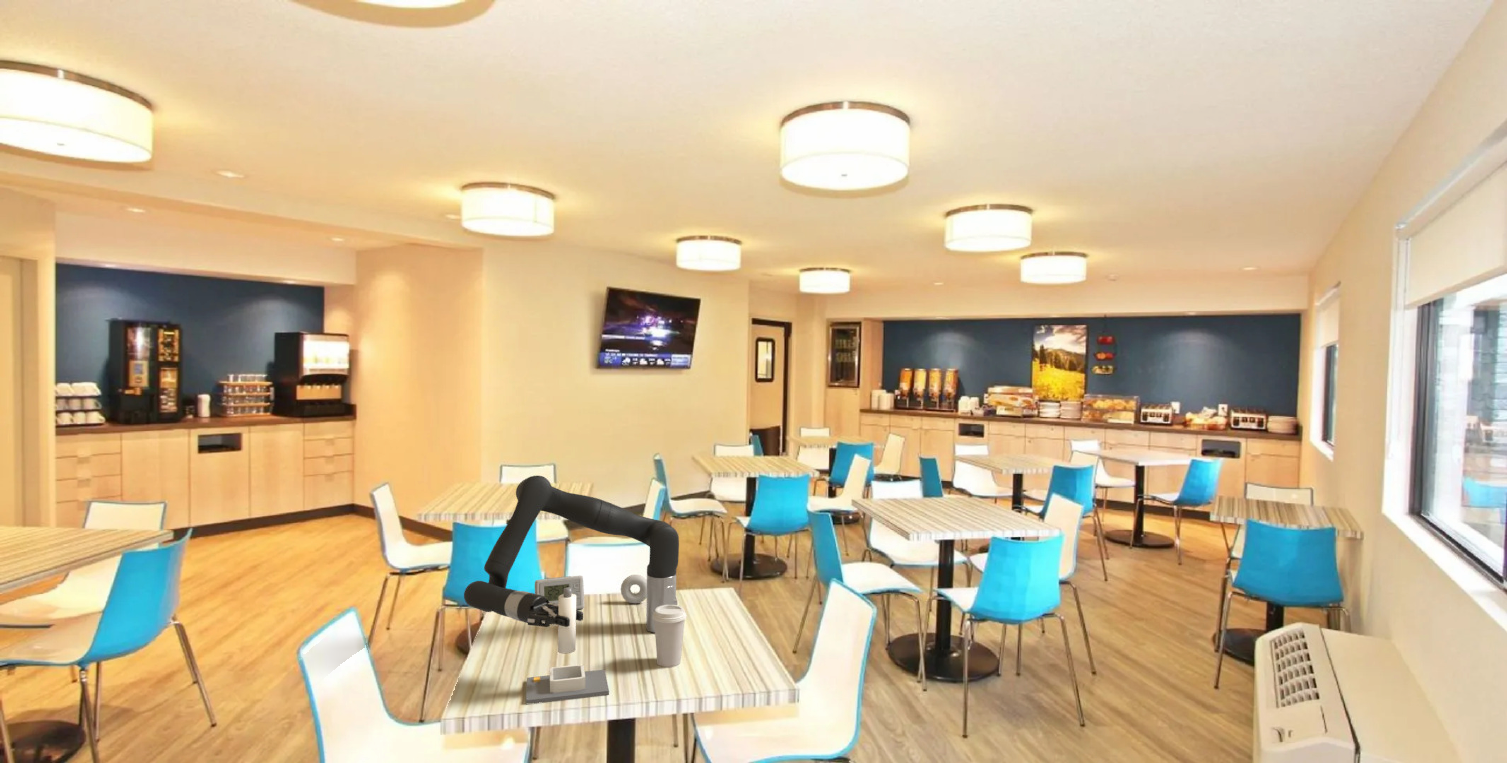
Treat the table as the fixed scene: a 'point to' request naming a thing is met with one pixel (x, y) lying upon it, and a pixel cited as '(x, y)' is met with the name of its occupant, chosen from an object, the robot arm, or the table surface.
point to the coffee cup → (669, 634)
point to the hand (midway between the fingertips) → (575, 619)
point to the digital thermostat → (561, 588)
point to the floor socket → (566, 684)
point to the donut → (627, 592)
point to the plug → (569, 633)
